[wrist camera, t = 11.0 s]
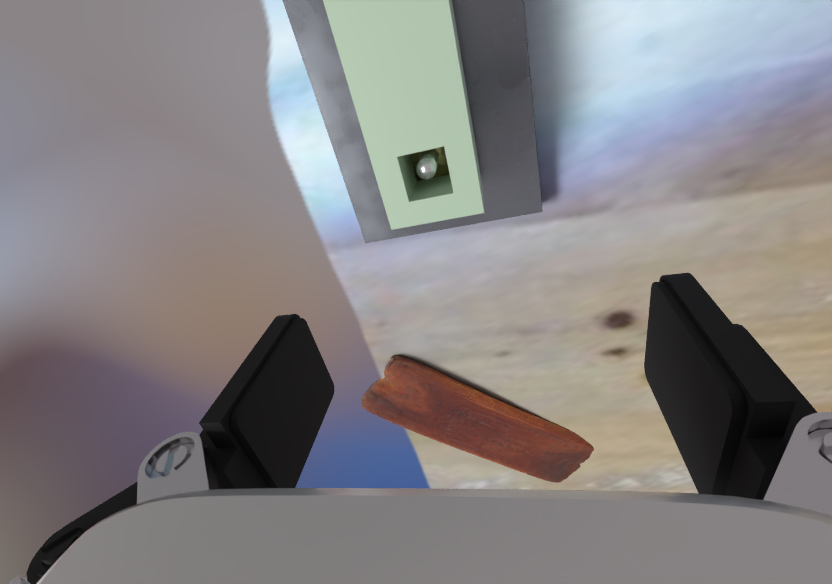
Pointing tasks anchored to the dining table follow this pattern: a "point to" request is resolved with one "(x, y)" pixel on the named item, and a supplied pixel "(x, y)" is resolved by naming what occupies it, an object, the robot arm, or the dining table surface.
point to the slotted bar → (410, 103)
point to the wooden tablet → (473, 421)
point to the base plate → (488, 100)
